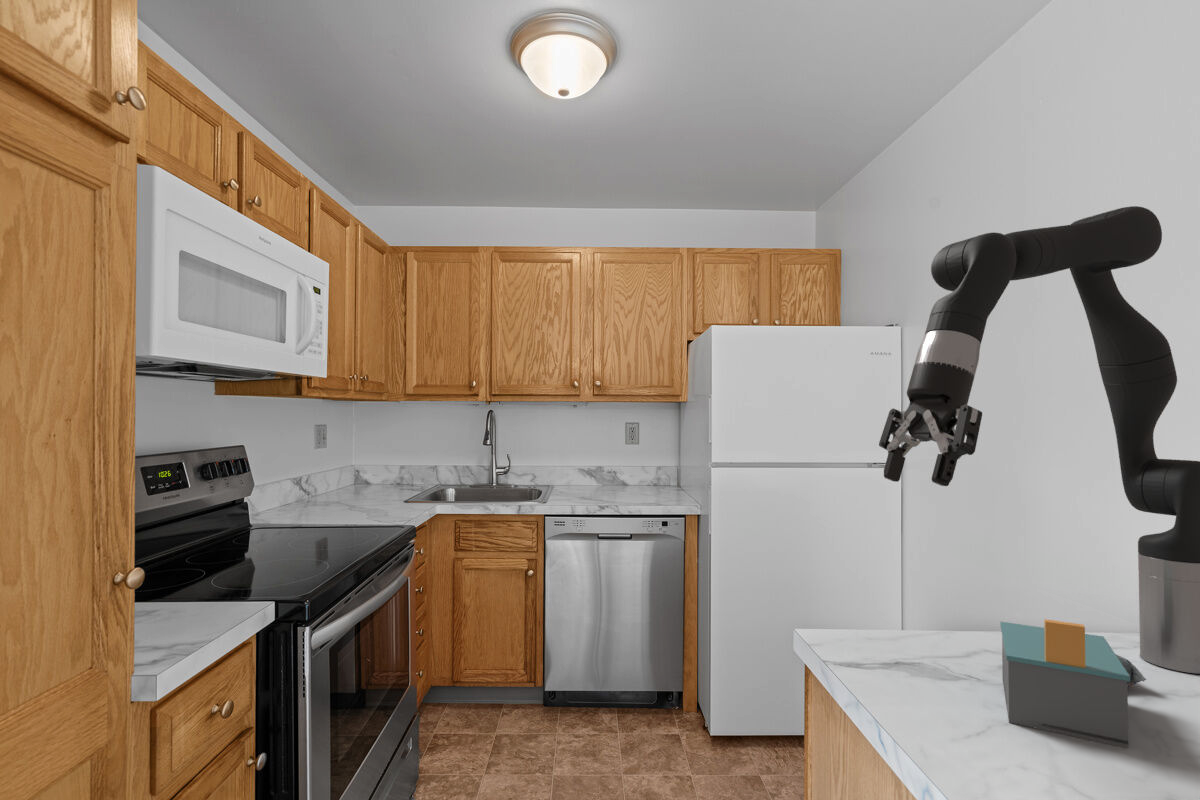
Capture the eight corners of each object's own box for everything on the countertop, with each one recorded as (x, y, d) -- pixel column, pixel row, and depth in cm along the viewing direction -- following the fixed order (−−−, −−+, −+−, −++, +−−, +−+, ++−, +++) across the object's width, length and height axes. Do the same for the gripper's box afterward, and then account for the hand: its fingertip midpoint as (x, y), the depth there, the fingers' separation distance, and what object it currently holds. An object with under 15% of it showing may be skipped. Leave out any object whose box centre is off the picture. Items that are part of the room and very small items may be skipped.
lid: (1000, 630, 95) (1000, 588, 95) (1103, 646, 89) (1103, 601, 89) (1006, 666, 81) (1006, 616, 81) (1129, 687, 75) (1128, 633, 75)
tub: (1002, 679, 95) (1002, 626, 95) (1103, 697, 89) (1102, 640, 89) (1008, 722, 81) (1008, 659, 81) (1128, 747, 75) (1127, 680, 75)
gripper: (1011, 375, 80) (980, 496, 78) (924, 384, 94) (896, 486, 91) (966, 353, 78) (934, 476, 76) (885, 365, 92) (855, 470, 90)
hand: (913, 482), depth 84 cm, fingers open, 8 cm apart
